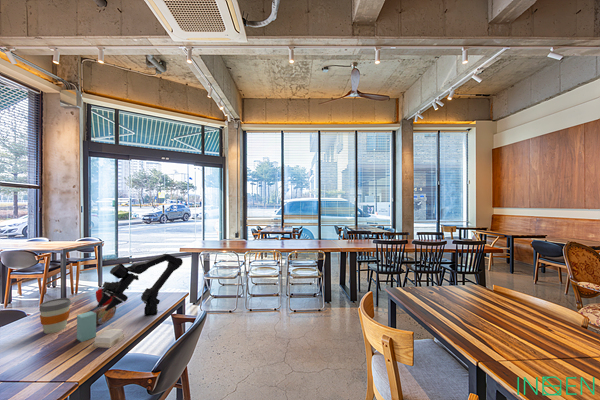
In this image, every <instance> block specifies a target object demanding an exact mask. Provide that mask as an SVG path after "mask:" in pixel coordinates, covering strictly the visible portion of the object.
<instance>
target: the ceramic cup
mask: <svg viewBox="0 0 600 400" xmlns="http://www.w3.org/2000/svg"><path fill="white" fill-rule="evenodd" d="M102 289H103V288H100V289H97V290H96V291H95V298H96V302H97V303H99V301H100V300H101V297H102V293H101V292H102V291H101V290H102ZM110 297H111V296H110ZM114 297H116V296H114ZM111 301H112V298H111V299H110V300H108V301H107V302H106V303H104V304H103V305H102V306H101V307H104V306H106V305H108V304H109V303H110V302H111Z"/></svg>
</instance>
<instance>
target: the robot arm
mask: <svg viewBox="0 0 600 400" xmlns="http://www.w3.org/2000/svg"><path fill="white" fill-rule="evenodd" d="M164 262H168V263H167V266H166V268H165V269H164V271H163V272H162V273H161V275H160V276H159V278H157V280H156V281H155V282H154V283H153V285H152V286H151V287H149V288H146V289H145V290H144V291H143V292H142V293H141V297H140V300H141V301H142V302H143V304H145V306H144V317H148V316H149V317H150V316H155V315H157V314H158V311H159V310H158V305H159V304H160V302H161V300H160V299H158V296H159V291H160V290H161V288H162V287H163V286H164V285H165V283H166V282H167V280H168V279H169V278H170V276H171V275H172V274H173V273H174V272H175V271H176V270H178V269H179V268H180V267H181V266H182V265H183V263H184V261H183V259H182V258H181V257H175V256H174V255H171V254H169V253H163V254H160V255H159V256H156V257H154V258H151V259H148V260H145V261H140V262H134V263H132V264H131V265H130V266H125V265H124V264H123V263H118V264H117V265H115V266H114V267H112V268H111V269H110V271H109V274H111V275H113V276H114V277H115V278H117V279H119V280H118V281H112V282H110V281H104V282H103V284H102V288H103V289H102V288H101V289H102V290H101V291H102V292H101V293H102V297H101V300H100V301H99V303H98V302H97V303H98V304H97V306H96V307H97V308H100V307H103V306H102V305H103V304H104V303H106V302H107V301H108V300H110V299H111V298H112V301H111V302H110V303H109V305H108V306H107V307H106V309H105V311H108V310H109V309H111V308H113V307H115V306H116V307H117V306H118V305H120V304H123V303H126V302H127V300H128V298H129V297H128V296H129V295H126V294H125V293H124V292H125V291H126V290H129V288H130V287H129V286H130V285H131V284H132V283H133V281H139V279H140V278H139V275H141V274H143V273H144V272H147V270H149V269H150V268H152V267H154V266H156V265H159V264H161V263H164ZM110 296H111V297H110ZM114 296H116V297H114Z"/></svg>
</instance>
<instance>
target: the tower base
mask: <svg viewBox="0 0 600 400" xmlns="http://www.w3.org/2000/svg"><path fill="white" fill-rule="evenodd" d="M123 339H125V333H123V335H122V336H120V337H119V338H117V339H116V340H114V341H113V342H111V343H95V341H93V342H92V347H93V348H106V349H107V348H108V349H110V347H111V348H112V347H113V346H115V345H117V344H118V343H119V342H121V341H123Z"/></svg>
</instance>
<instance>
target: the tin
mask: <svg viewBox="0 0 600 400" xmlns="http://www.w3.org/2000/svg"><path fill="white" fill-rule="evenodd" d="M108 305H109V304H108ZM108 305H106V306H101V308H99V309H97V310H96V311H95V313H96V325H103V324H105V323H106V322H108V321H109V320H110V319H112V318H114V316H115V315H116V312H117V306H115V307H113V308H111V309H109V310H108V311H105V309H106V307H107V306H108Z"/></svg>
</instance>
